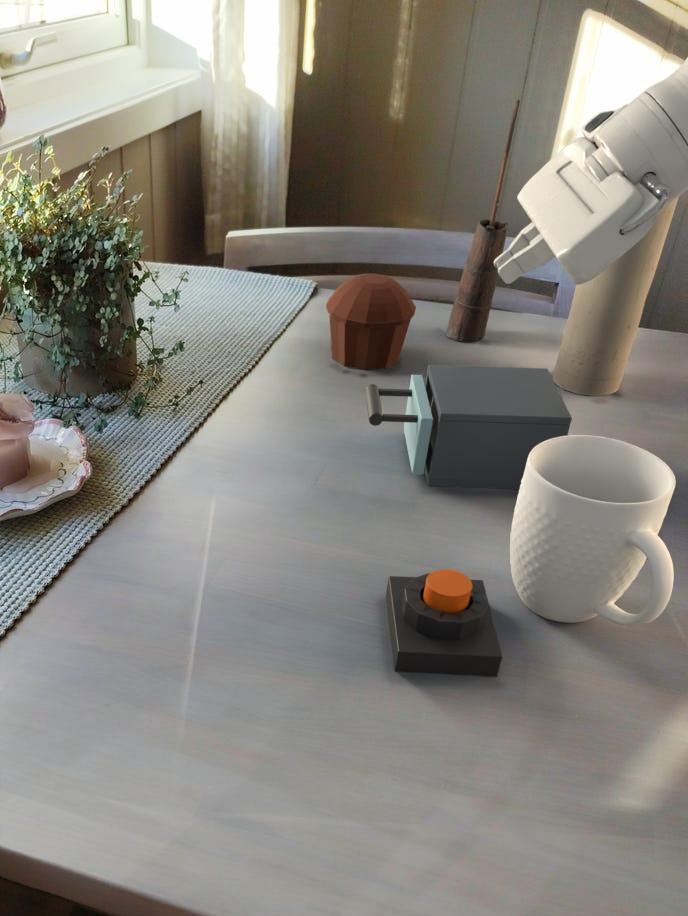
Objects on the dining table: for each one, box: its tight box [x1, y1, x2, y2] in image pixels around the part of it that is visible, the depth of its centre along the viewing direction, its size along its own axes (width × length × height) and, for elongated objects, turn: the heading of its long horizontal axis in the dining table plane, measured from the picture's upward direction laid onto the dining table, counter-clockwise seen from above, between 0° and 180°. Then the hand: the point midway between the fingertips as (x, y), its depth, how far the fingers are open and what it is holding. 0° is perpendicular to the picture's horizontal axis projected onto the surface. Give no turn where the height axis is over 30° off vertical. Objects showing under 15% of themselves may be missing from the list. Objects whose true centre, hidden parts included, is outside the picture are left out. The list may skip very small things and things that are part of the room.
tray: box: [364, 374, 439, 476], centre depth 94 cm, size 16×10×6 cm, turn 85°
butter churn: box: [445, 99, 521, 343], centre depth 113 cm, size 9×10×28 cm
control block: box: [385, 572, 503, 678], centre depth 73 cm, size 8×10×4 cm
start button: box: [423, 568, 473, 613], centre depth 72 cm, size 4×4×2 cm
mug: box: [509, 434, 677, 627], centre depth 72 cm, size 15×11×13 cm
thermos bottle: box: [552, 196, 680, 397], centre depth 103 cm, size 8×8×28 cm
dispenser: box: [424, 364, 573, 490], centre depth 94 cm, size 13×12×8 cm
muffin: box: [325, 272, 417, 371], centre depth 115 cm, size 12×11×10 cm
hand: (499, 274), depth 84 cm, fingers closed
